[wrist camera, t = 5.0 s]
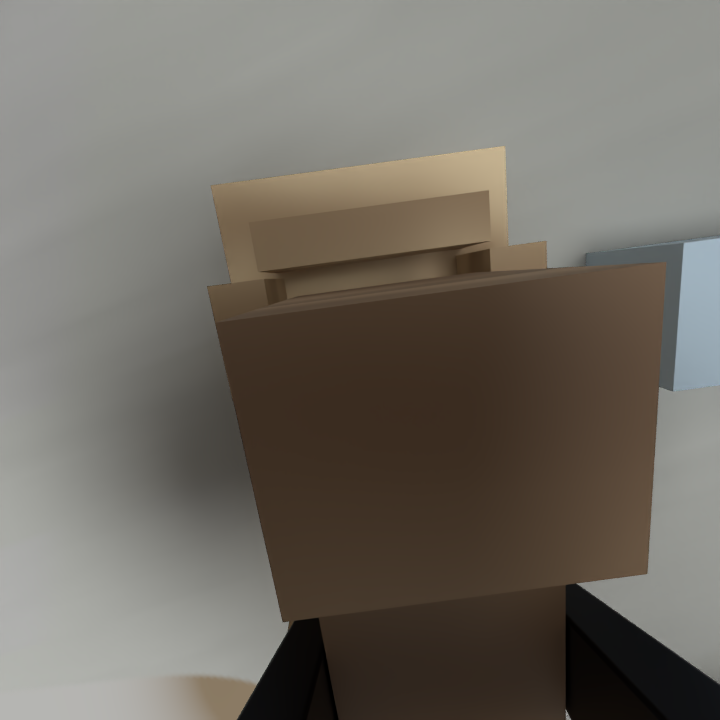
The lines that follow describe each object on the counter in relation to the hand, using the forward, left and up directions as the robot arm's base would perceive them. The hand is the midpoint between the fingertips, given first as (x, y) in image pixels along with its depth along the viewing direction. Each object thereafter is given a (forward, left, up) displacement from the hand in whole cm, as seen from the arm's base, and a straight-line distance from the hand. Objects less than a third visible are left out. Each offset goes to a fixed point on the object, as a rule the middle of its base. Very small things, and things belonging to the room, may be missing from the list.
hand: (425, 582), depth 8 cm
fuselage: (0, 0, -2) cm, 2 cm away
